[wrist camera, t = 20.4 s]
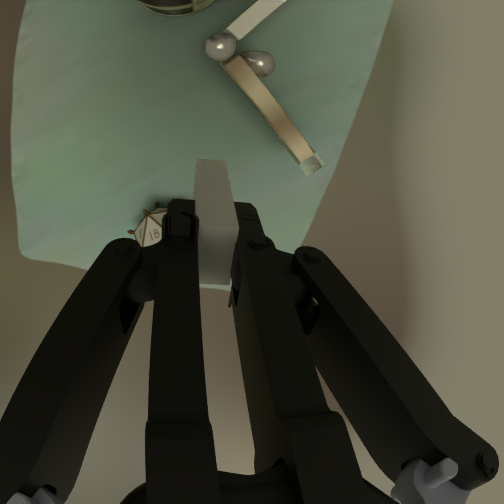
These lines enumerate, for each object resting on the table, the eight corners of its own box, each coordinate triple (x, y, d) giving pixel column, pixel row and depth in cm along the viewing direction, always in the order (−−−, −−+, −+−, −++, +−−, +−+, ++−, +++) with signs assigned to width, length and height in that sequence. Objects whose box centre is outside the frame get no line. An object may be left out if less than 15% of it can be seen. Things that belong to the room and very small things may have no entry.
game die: (171, 194, 43) (195, 184, 34) (196, 248, 45) (226, 252, 37) (113, 223, 39) (122, 220, 30) (142, 279, 41) (159, 292, 33)
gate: (216, 63, 29) (222, 68, 22) (231, 52, 29) (242, 53, 22) (284, 147, 36) (307, 176, 29) (297, 137, 36) (324, 164, 29)
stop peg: (248, 46, 29) (261, 45, 23) (263, 60, 31) (280, 64, 24) (233, 61, 30) (242, 64, 24) (248, 74, 31) (261, 81, 25)
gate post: (214, 33, 28) (220, 26, 20) (230, 47, 29) (242, 45, 21) (198, 48, 29) (198, 47, 20) (214, 62, 30) (221, 66, 22)
